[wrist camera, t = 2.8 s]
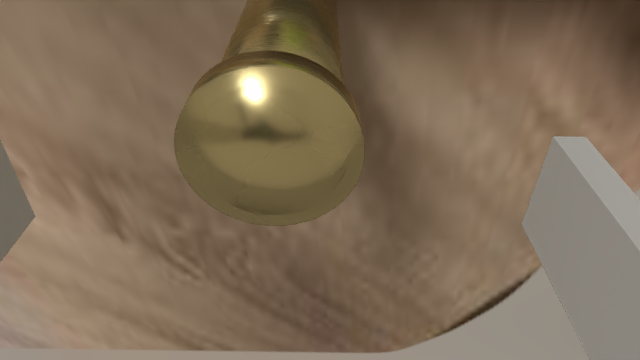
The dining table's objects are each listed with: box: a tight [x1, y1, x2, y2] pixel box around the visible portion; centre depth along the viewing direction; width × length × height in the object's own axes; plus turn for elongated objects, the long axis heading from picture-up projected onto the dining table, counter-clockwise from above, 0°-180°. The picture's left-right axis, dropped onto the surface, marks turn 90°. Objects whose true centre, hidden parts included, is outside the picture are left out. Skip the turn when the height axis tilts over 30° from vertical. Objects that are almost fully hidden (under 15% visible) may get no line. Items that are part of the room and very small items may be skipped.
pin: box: [174, 0, 364, 226], centre depth 18 cm, size 5×5×16 cm
